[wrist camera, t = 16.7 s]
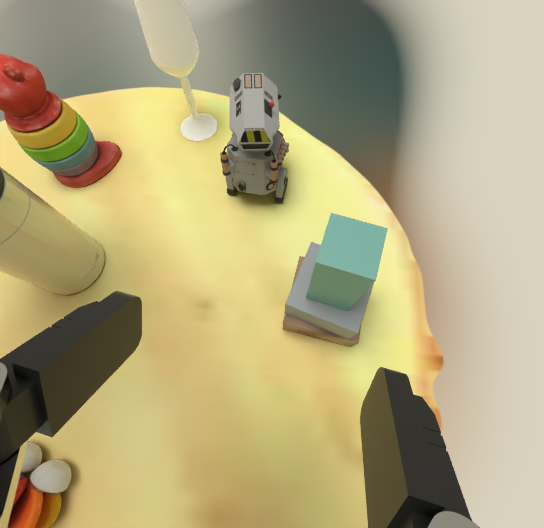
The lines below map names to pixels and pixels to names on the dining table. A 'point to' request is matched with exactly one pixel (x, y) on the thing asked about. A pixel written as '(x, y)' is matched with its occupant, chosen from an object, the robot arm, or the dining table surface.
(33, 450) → the rainbow petal toy
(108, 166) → the stacking bear
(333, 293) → the green block
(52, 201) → the dining table surface
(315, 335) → the walnut base block
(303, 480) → the dining table surface
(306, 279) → the gray top block
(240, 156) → the figurine
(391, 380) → the robot arm
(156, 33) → the champagne flute
